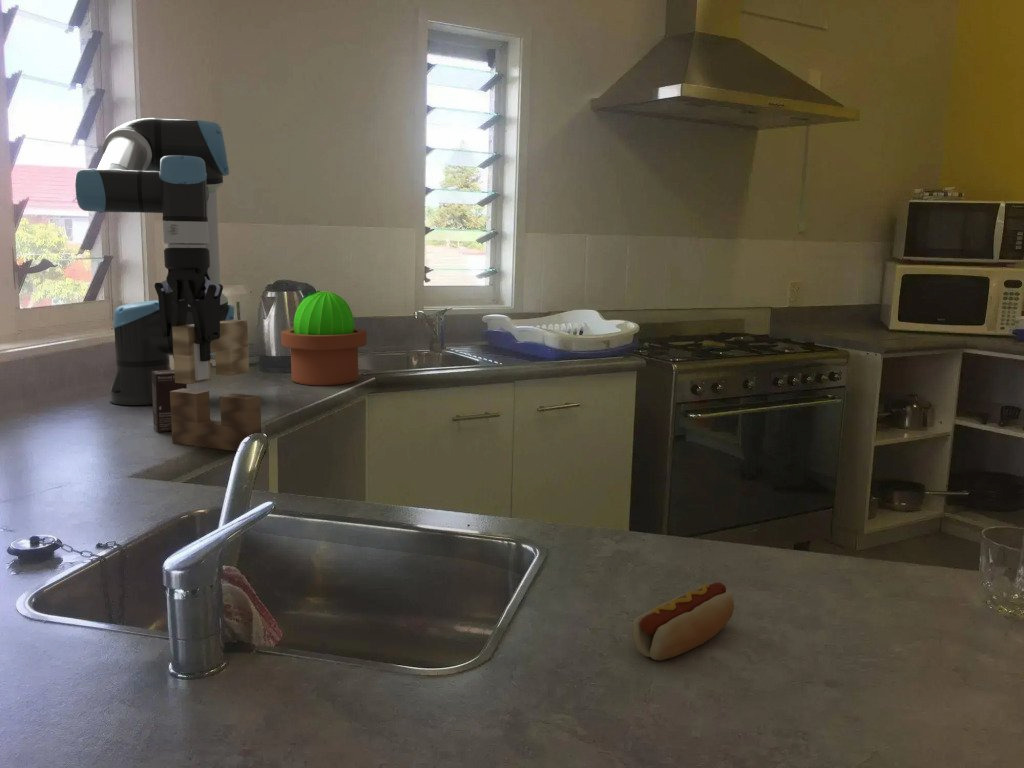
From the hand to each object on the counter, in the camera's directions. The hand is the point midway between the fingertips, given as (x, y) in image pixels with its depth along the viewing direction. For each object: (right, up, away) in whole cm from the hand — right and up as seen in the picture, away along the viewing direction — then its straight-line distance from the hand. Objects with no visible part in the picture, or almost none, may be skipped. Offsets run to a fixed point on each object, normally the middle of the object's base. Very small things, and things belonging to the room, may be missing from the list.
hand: (192, 378), depth 158 cm
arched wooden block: (+2, 0, +5) cm, 6 cm away
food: (+75, -27, -69) cm, 106 cm away
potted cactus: (+6, 0, +82) cm, 82 cm away
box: (-12, -11, +21) cm, 26 cm away
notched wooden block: (+2, -13, +8) cm, 15 cm away
